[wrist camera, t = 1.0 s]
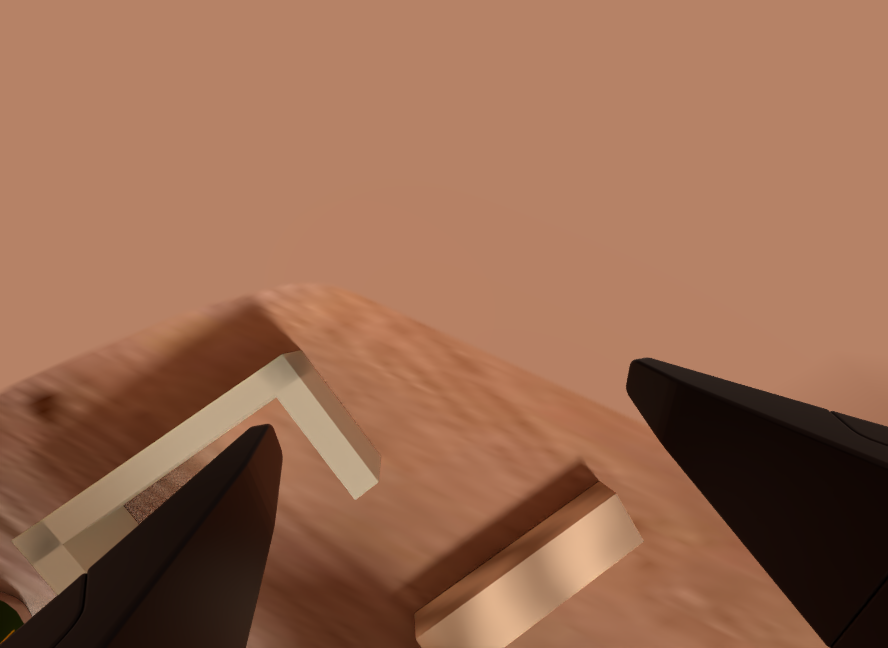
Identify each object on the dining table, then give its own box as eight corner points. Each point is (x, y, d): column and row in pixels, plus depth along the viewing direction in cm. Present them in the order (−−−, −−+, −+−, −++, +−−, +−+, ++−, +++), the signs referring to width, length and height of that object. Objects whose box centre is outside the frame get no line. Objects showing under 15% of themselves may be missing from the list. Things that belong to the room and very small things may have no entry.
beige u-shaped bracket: (381, 456, 24) (378, 482, 20) (175, 613, 22) (127, 675, 18) (301, 350, 23) (281, 354, 19) (82, 501, 21) (11, 540, 17)
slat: (443, 660, 24) (447, 690, 22) (414, 613, 24) (415, 639, 22) (625, 525, 26) (643, 541, 24) (599, 480, 26) (616, 493, 24)
